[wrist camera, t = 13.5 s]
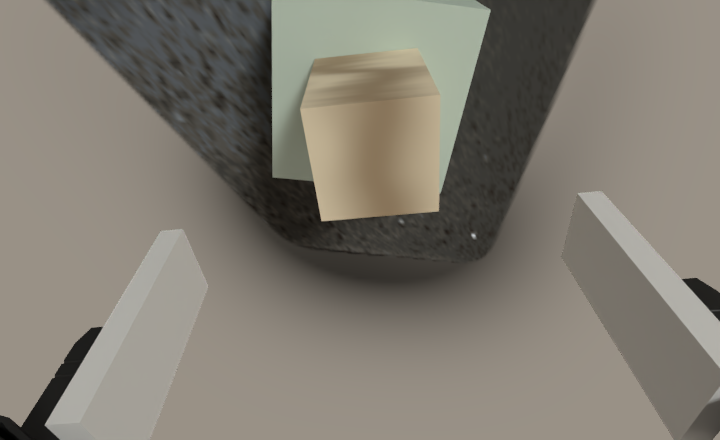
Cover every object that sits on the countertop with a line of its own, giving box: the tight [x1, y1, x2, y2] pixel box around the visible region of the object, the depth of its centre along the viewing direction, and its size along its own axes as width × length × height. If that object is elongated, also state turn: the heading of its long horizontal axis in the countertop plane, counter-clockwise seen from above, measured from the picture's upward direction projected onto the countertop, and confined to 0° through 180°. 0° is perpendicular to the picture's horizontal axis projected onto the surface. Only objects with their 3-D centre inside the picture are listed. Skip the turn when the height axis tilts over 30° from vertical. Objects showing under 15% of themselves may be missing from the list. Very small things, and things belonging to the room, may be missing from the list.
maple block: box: [300, 48, 440, 221], centre depth 23 cm, size 6×6×8 cm
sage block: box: [272, 0, 491, 193], centre depth 29 cm, size 12×12×7 cm
